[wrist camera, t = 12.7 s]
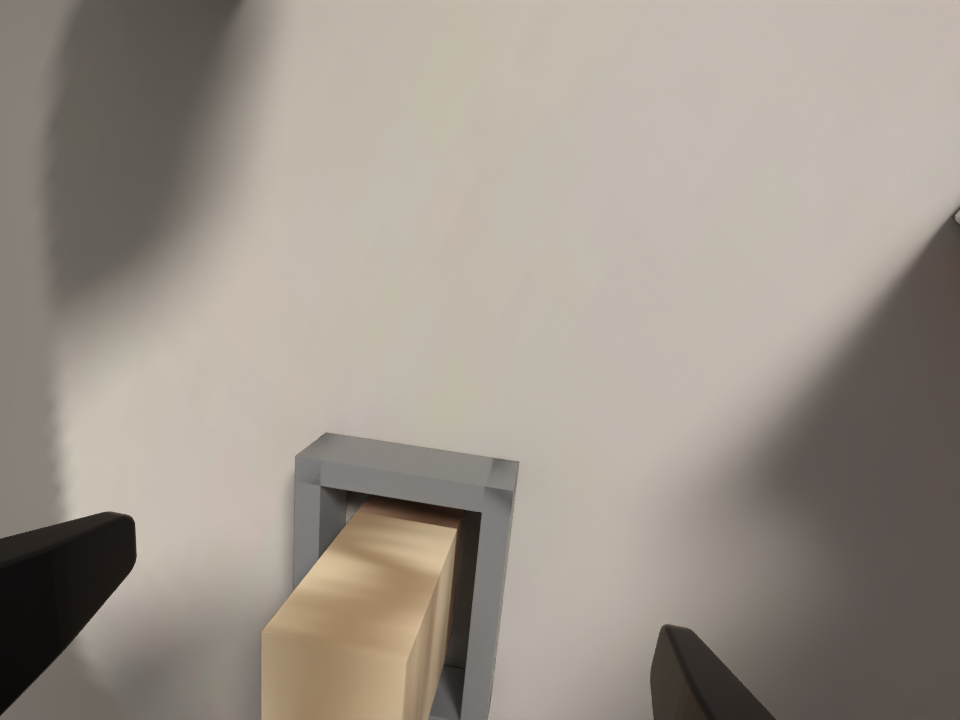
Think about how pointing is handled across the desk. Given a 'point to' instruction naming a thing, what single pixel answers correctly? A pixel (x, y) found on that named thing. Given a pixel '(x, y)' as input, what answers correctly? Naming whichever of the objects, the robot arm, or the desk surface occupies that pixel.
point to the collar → (425, 480)
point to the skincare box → (957, 217)
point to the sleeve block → (367, 619)
